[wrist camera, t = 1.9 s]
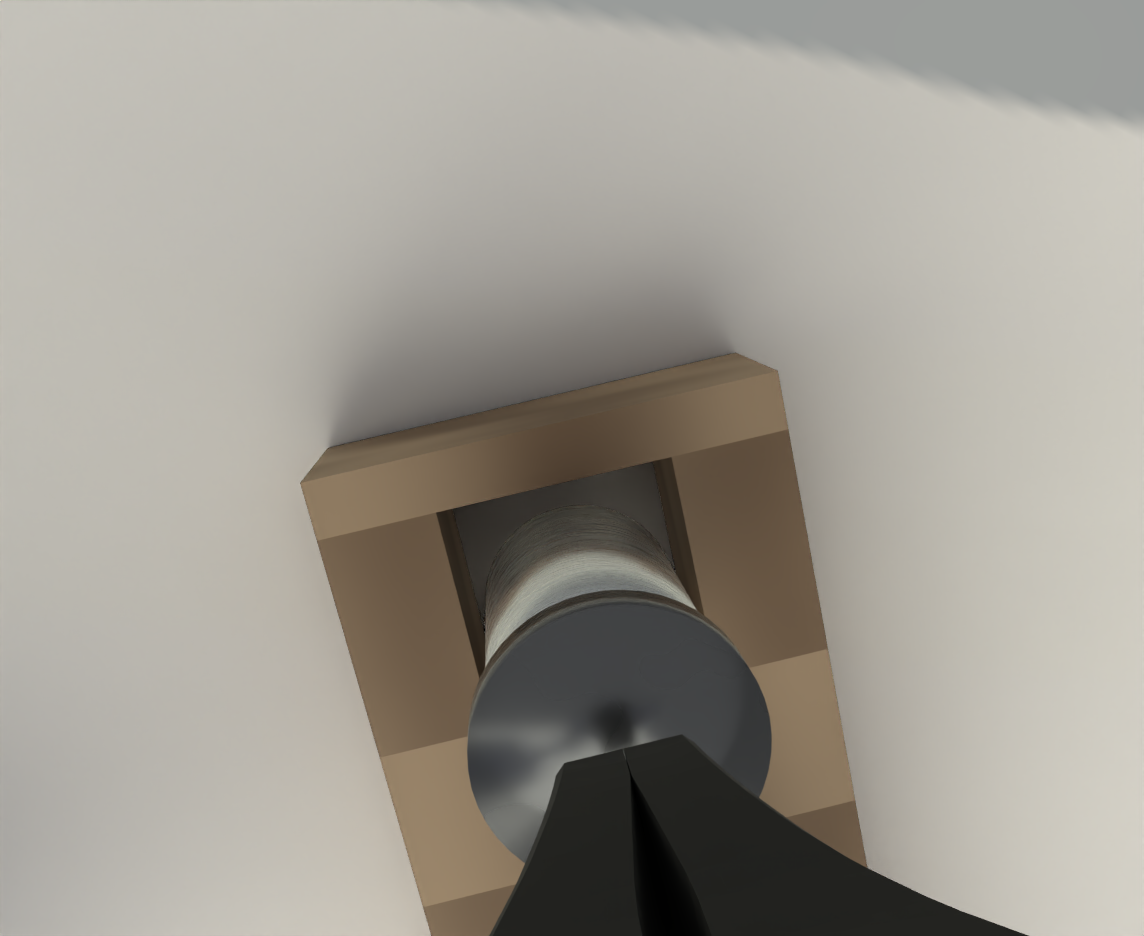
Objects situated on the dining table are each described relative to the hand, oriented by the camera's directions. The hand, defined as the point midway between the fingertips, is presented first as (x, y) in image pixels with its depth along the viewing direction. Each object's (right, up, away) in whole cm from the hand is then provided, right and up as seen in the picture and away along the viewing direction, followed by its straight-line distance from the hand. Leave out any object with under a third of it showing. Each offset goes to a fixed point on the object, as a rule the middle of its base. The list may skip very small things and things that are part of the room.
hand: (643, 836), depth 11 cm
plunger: (-1, +2, +7) cm, 7 cm away
